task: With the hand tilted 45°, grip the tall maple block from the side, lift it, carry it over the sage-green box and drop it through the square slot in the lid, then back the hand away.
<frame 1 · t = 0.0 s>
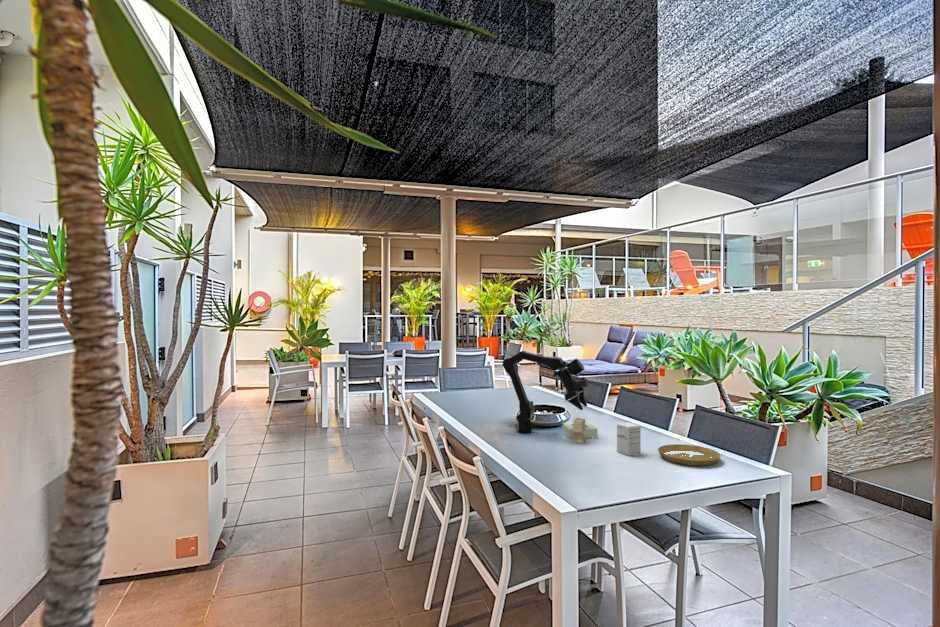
hand: (584, 407, 239), 15 cm above the table, tool tilted 35°, fingers open, 9 cm apart
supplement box: (628, 453, 215), on the table
maple block: (579, 442, 232), on the table
plant saucer: (688, 459, 206), on the table
slot box: (579, 434, 246), on the table
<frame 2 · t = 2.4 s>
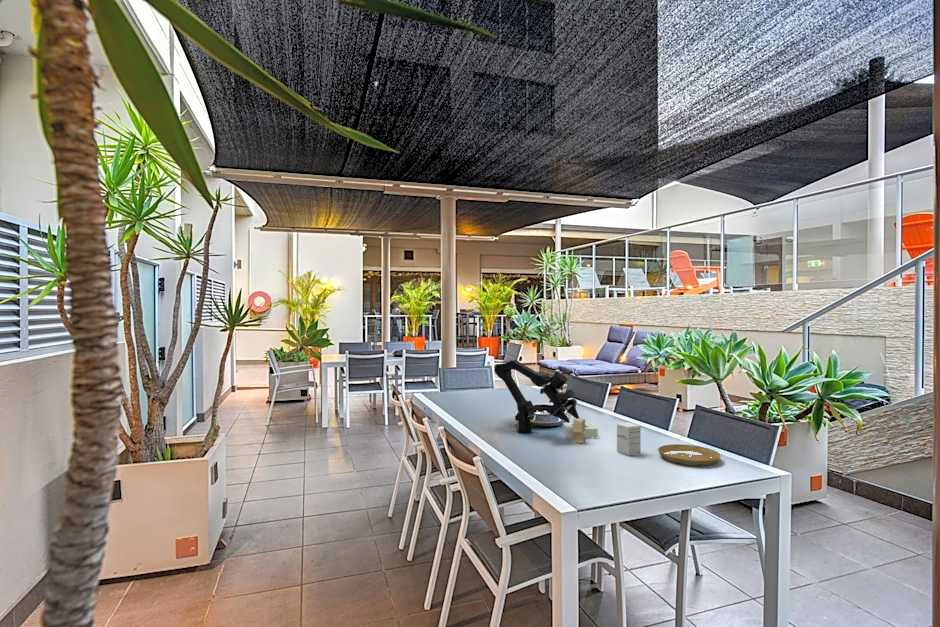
hand: (573, 420, 234), 10 cm above the table, tool tilted 45°, fingers open, 9 cm apart
nothing on the table moved.
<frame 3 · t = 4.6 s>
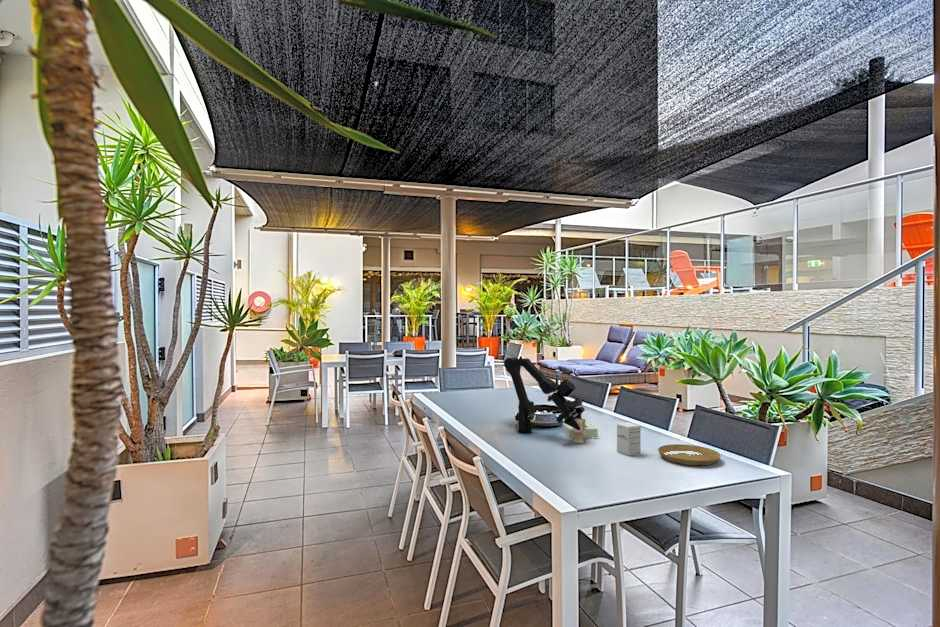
hand: (582, 429, 231), 7 cm above the table, tool tilted 45°, fingers closed on maple block, 4 cm apart
maple block: (579, 442, 232), on the table, touching gripper
everything else where it was.
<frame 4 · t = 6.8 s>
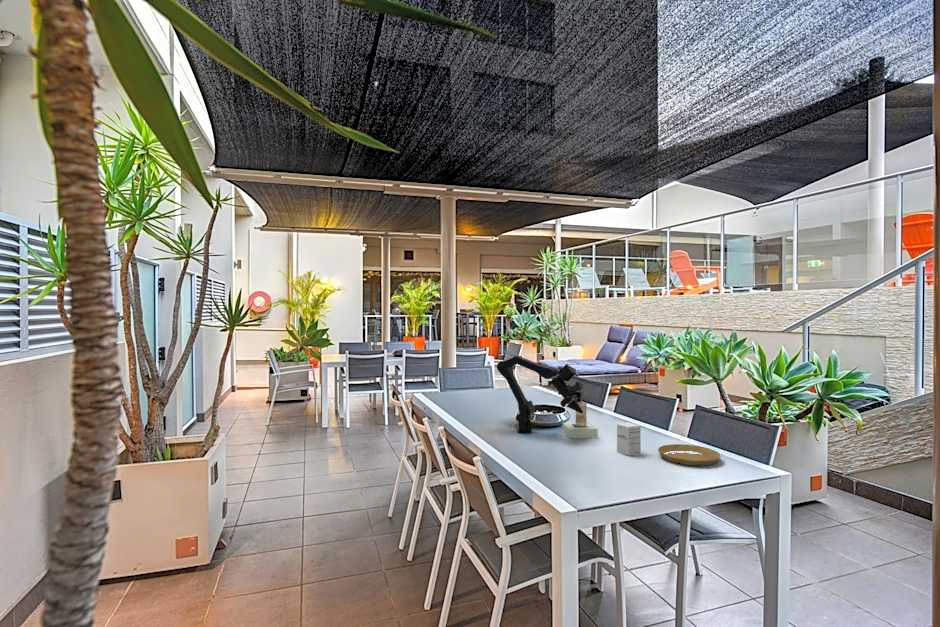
hand: (583, 412, 237), 13 cm above the table, tool tilted 45°, fingers closed on maple block, 4 cm apart
maple block: (581, 425, 238), point 7 cm above the table, touching gripper
everything else where it was.
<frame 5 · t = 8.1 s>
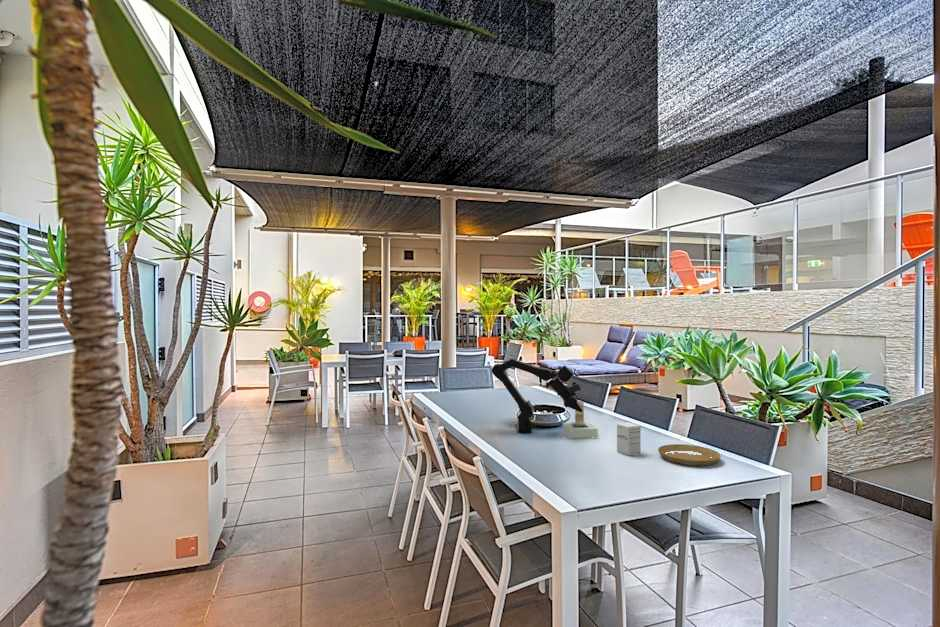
hand: (582, 410, 246), 12 cm above the table, tool tilted 45°, fingers closed on maple block, 4 cm apart
maple block: (579, 423, 246), point 5 cm above the table, touching gripper
everything else where it was.
when the fingers open (12 cm above the table, at t = 9.0 s): maple block drops 5 cm, resting in slot box.
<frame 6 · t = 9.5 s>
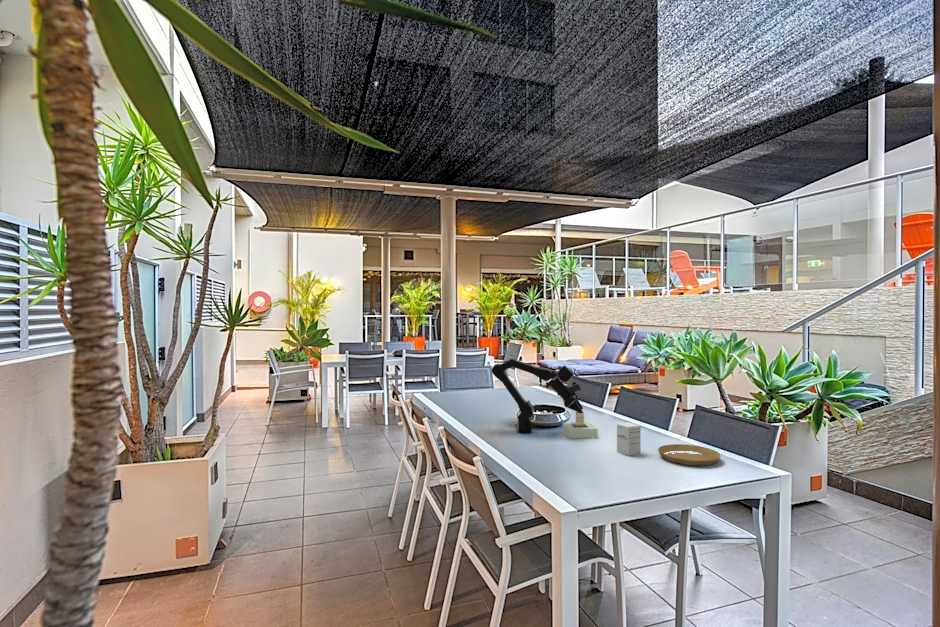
hand: (582, 410, 246), 12 cm above the table, tool tilted 45°, fingers open, 9 cm apart
maple block: (579, 434, 246), resting in slot box
everything else where it was.
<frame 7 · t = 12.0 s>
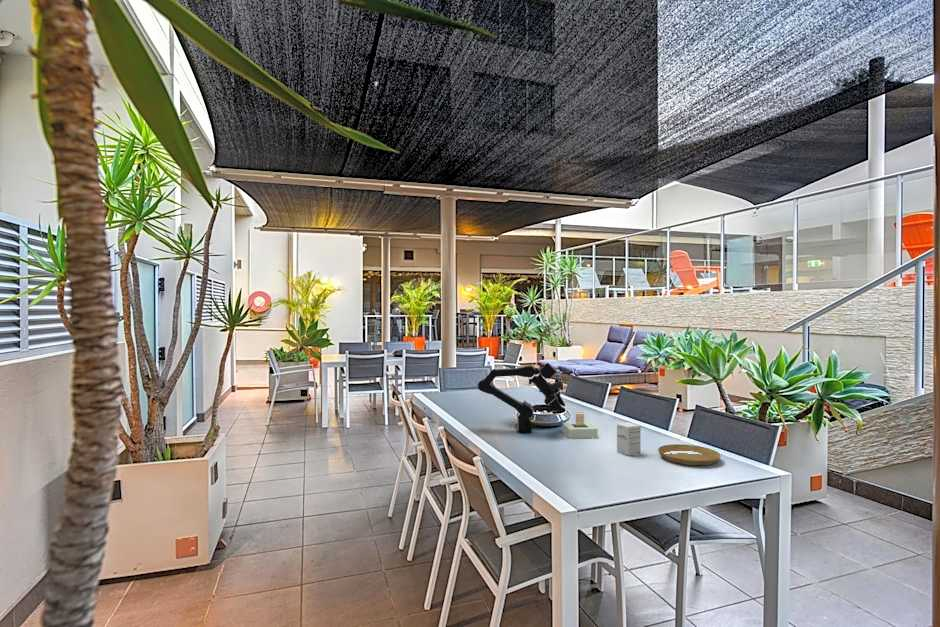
hand: (563, 408, 248), 13 cm above the table, tool tilted 45°, fingers open, 9 cm apart
nothing on the table moved.
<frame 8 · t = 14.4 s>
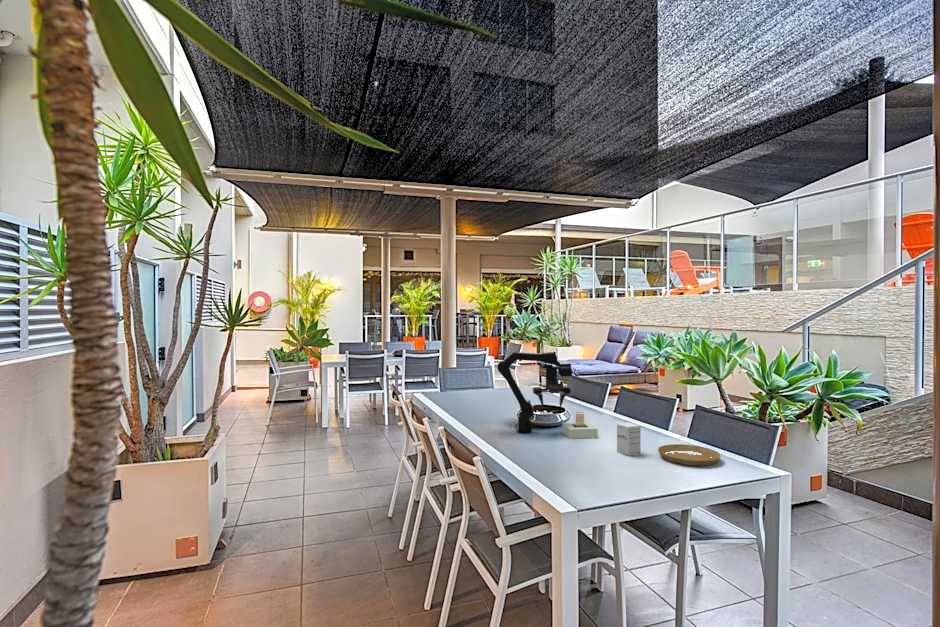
hand: (551, 406, 252), 13 cm above the table, tool pointing down, fingers open, 9 cm apart
nothing on the table moved.
at the end: maple block inside the target area on the slot box (0.1 cm from its centre), point 0.0 cm above the slot box's base; the gripper is holding nothing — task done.
